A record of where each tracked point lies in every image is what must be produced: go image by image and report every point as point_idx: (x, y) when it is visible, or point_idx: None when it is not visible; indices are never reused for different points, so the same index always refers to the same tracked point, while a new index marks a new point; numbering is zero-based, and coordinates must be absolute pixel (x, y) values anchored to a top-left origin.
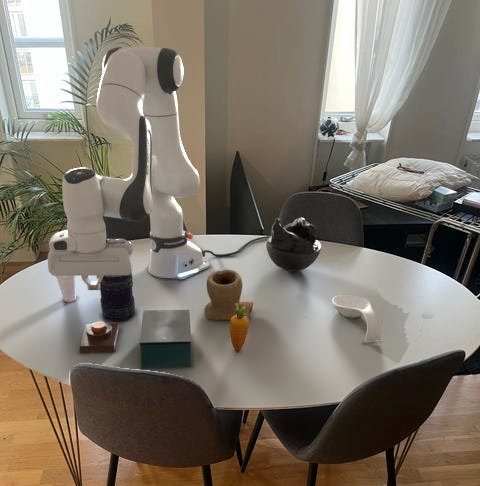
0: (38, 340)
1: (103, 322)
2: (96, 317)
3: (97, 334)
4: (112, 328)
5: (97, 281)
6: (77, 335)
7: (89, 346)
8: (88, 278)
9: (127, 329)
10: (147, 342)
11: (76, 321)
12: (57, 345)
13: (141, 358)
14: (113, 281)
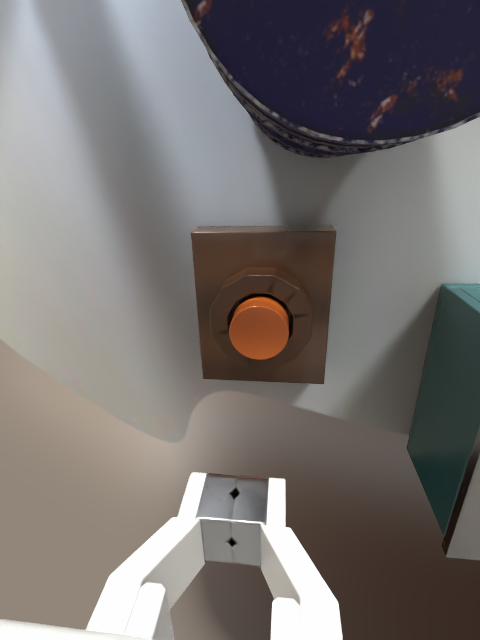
0: (50, 286)
1: (279, 319)
2: (216, 106)
3: (260, 362)
4: (310, 274)
5: (268, 561)
6: (171, 261)
7: (237, 379)
8: (173, 552)
9: (368, 223)
10: (478, 559)
11: (135, 147)
12: (123, 318)
13: (420, 477)
14: (371, 145)
